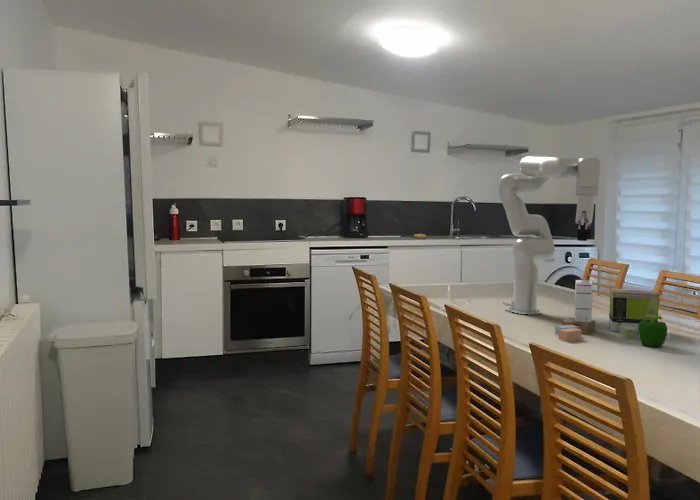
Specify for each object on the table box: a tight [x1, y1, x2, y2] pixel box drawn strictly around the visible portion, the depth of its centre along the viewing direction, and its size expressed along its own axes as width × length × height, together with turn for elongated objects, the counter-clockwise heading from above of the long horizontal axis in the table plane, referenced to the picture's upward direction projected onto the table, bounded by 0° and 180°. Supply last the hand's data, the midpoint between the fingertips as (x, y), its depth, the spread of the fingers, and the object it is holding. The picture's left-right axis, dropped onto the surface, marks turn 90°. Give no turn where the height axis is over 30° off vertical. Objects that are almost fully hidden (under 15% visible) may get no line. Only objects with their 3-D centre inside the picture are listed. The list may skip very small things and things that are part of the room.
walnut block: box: [561, 316, 596, 335], centre depth 204 cm, size 9×9×4 cm
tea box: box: [608, 288, 660, 334], centre depth 205 cm, size 15×10×15 cm
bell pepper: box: [638, 315, 668, 348], centre depth 183 cm, size 8×8×10 cm
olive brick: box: [618, 325, 638, 340], centre depth 196 cm, size 7×4×4 cm, turn 170°
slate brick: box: [554, 324, 579, 337], centre depth 196 cm, size 7×4×4 cm, turn 107°
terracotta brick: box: [558, 328, 582, 342], centre depth 191 cm, size 7×4×4 cm, turn 119°
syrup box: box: [573, 279, 593, 323], centre depth 203 cm, size 6×6×14 cm
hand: (583, 239), depth 204 cm, fingers open, 9 cm apart
